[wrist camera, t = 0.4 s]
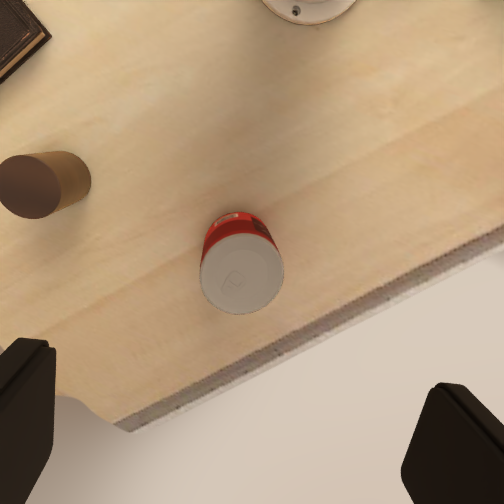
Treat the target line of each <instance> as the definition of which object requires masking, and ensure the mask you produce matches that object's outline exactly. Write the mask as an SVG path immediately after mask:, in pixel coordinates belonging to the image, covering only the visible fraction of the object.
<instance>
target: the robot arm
mask: <svg viewBox="0 0 504 504" xmlns="http://www.w3.org/2000/svg"><path fill="white" fill-rule="evenodd" d="M262 1H263V2H264V4H265V5H266V6H267V7H268V8H269V9H271V10H272V11H273V12H274V13H275V14H277V15H278V16H280V17H281V18H283V19H285V20H288V21H290V22H293V23H297V24H304V25H313V24H320V23H324V22H327V21H330V20H332V19H334V18H335V17H337V16H339V15H341V14H342V13H343V12H344V11H346V10H347V9H348V8H349V7H350V6H351V5H352V4H353V3H354V2H355V1H356V0H262ZM292 11H296V12H297V15H296V16H294V15H293V14H292ZM55 377H56V349H55V348H52V347H49V344H48V341H46V340H39V339H29V338H18V339H17V340H15V341H14V342H13V343H12V344H11V345H10V346H9V347H8V348H7V349H6V350H5V351H4V352H3V353H2V354H1V355H0V504H25V502H26V500H27V499H28V497H29V495H30V493H31V491H32V489H33V487H34V485H35V483H36V482H37V480H38V478H39V476H40V474H41V472H42V470H43V469H44V467H45V465H46V463H47V461H48V459H49V456H50V454H51V450H52V446H53V432H54V405H55ZM401 478H402V482H403V484H404V486H405V488H406V490H407V492H408V493H409V495H410V497H411V499H412V501H413V503H414V504H504V425H503V424H502V423H501V422H500V421H499V420H498V419H497V418H496V417H495V416H494V415H493V414H492V413H491V412H490V411H489V410H488V409H487V408H486V407H485V406H484V405H483V404H482V403H481V402H480V401H479V400H478V399H477V398H476V397H475V396H474V395H473V394H472V393H471V392H470V391H469V390H468V389H467V388H466V387H465V386H463V385H460V384H451V383H438V384H437V385H435V387H434V388H432V389H430V391H429V393H428V396H427V398H426V401H425V404H424V406H423V409H422V412H421V414H420V417H419V420H418V423H417V425H416V428H415V431H414V433H413V436H412V439H411V442H410V444H409V447H408V450H407V452H406V455H405V458H404V461H403V463H402V466H401Z"/></svg>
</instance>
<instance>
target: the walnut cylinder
mask: <svg viewBox="0 0 504 504" xmlns="http://www.w3.org/2000/svg"><path fill="white" fill-rule="evenodd" d="M90 186H91V176H90V172H89V170H88V168H87V166H86V165H85V163H84V162H83V161H82V160H81V159H80V158H78V157H77V156H75V155H74V154H72V153H69V152H64V151H55V152H45V153H36V154H26V155H17V156H13V157H10V158H8V159H6V160H5V161H3V162H2V163H1V164H0V201H1V203H2V204H3V205H4V206H5V207H6V208H7V209H8V210H9V211H11V212H12V213H14V214H16V215H18V216H20V217H23V218H28V219H39V218H43V217H46V216H48V215H50V214H52V213H54V212H57V211H59V210H61V209H63V208H65V207H67V206H69V205H71V204H74V203H76V202H78V201H80V200H81V199H83V198H84V197H85V196H86V195H87V193H88V191H89V189H90Z"/></svg>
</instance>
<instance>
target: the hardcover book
mask: <svg viewBox="0 0 504 504" xmlns="http://www.w3.org/2000/svg"><path fill="white" fill-rule="evenodd" d="M51 37H52V36H51V34H50V33H49V32H48V31H47V30H46V28H45V27H44V26H43V25H42V24H41V22H40V21H39V20H38V19H37V18H36V17H35V15H34V14H33V13H32V12H31V11H30V9H29V8H28V7H27V6H26V5H25V3H24V2H23V1H22V0H0V84H1V83H2V82H4V81H5V80H6V79H7V78H8V77H9V76H10V75H11V74H12V73H13V72H14V71H15V70H16V69H18V68H19V67H20V66H21V65H22V64H23V63H24V62H25V61H26V60H27V59H28V58H29V57H31V56H32V55H33V54H34V53H35V52H36V51H37V50H38V49H39V48H40V47H41V46H42V45H43V44H45V43H46V42H47V41H48V40H49V39H50V38H51Z"/></svg>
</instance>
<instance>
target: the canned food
mask: <svg viewBox="0 0 504 504" xmlns="http://www.w3.org/2000/svg"><path fill="white" fill-rule="evenodd" d="M283 278H284V266H283V261H282V258H281V255H280V253H279V250H278V248H277V247H276V245H275V243H274V241H273V239H272V237H271V235H270V233H269V231H268V229H267V228H266V226H265V224H264V223H263V222H262V221H261V220H260V219H259V218H257V217H256V216H254V215H251V214H249V213H244V212H234V213H229V214H227V215H224V216H222V217H221V218H219V219H217V220H216V221H215V222H214V223H213V224H212V226H211V227H210V228H209V230H208V232H207V234H206V237H205V241H204V247H203V253H202V258H201V264H200V284H201V289H202V291H203V294H204V296H205V297H206V298H207V300H208V301H209V302H210V303H211V304H212V305H213V306H214V307H216V308H217V309H219V310H220V311H223V312H226V313H229V314H235V315H243V314H249V313H253V312H255V311H258V310H260V309H262V308H263V307H265V306H267V305H268V304H269V303H270V302H271V301H272V300H273V299H274V298H275V297H276V295H277V294H278V292H279V290H280V288H281V286H282V283H283Z"/></svg>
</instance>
